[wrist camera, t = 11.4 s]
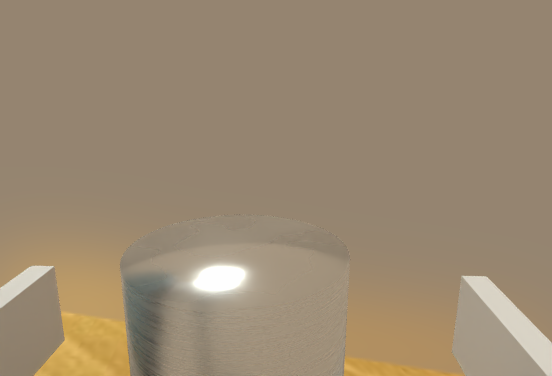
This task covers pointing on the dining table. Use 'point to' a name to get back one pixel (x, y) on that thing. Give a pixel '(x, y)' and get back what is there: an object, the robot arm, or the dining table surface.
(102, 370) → the dining table surface
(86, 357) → the dining table surface
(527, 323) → the robot arm
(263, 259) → the cylinder
